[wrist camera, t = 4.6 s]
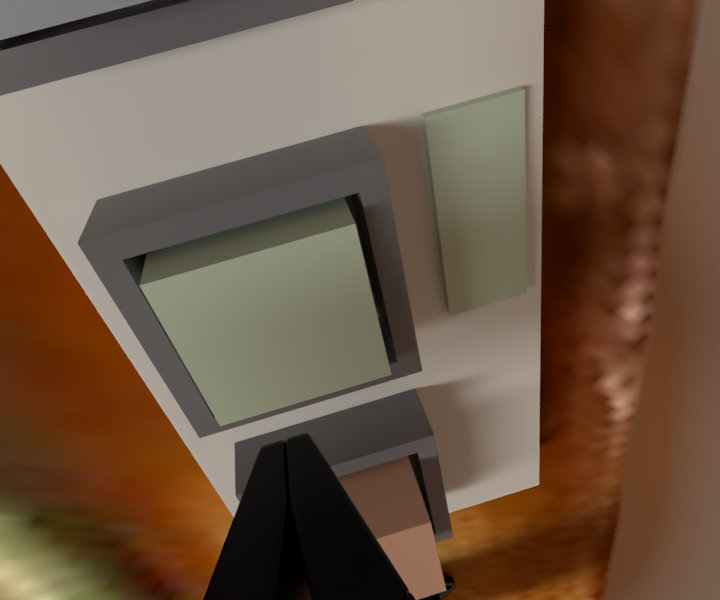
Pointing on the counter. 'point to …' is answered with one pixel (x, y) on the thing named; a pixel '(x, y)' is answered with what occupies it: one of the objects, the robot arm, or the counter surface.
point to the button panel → (307, 188)
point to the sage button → (270, 310)
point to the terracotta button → (399, 522)
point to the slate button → (50, 13)
